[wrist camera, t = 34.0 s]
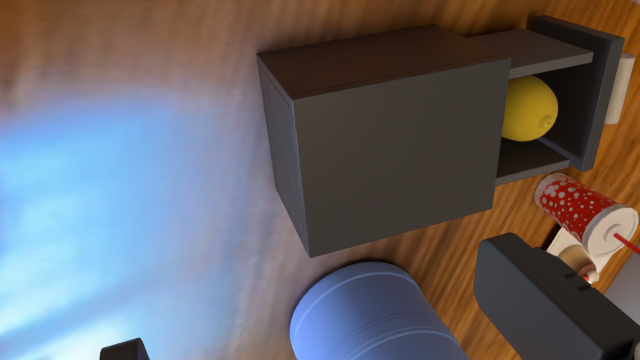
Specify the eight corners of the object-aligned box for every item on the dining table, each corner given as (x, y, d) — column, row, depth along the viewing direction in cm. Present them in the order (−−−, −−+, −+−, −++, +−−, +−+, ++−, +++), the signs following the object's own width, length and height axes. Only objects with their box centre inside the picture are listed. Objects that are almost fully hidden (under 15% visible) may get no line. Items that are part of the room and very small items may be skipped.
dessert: (512, 290, 64) (536, 316, 60) (561, 212, 59) (591, 235, 55) (572, 296, 69) (599, 321, 65) (622, 226, 64) (653, 247, 60)
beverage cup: (524, 183, 55) (628, 259, 43) (570, 156, 55) (686, 225, 44) (532, 220, 58) (630, 300, 47) (575, 195, 59) (683, 268, 47)
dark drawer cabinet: (434, 23, 42) (512, 57, 33) (428, 153, 48) (492, 209, 40) (256, 53, 38) (291, 99, 30) (275, 188, 45) (309, 259, 36)
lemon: (497, 123, 47) (556, 160, 40) (451, 113, 45) (505, 150, 38) (523, 67, 45) (590, 96, 38) (476, 53, 42) (539, 82, 36)
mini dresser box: (585, 7, 45) (671, 29, 38) (562, 121, 51) (633, 158, 44) (397, 40, 41) (454, 71, 33) (396, 160, 47) (444, 208, 39)
